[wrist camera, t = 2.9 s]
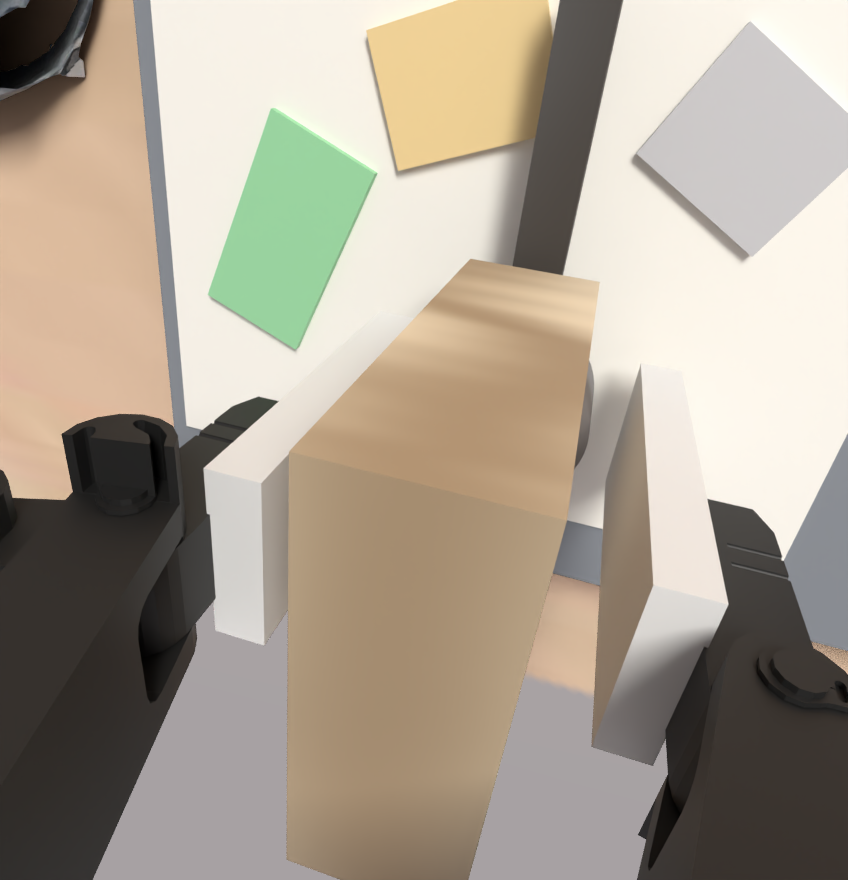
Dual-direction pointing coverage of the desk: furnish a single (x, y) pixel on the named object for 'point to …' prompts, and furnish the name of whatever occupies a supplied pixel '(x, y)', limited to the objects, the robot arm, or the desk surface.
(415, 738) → the wooden block with bar
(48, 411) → the desk surface
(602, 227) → the board
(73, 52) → the dark grey hollow piece
